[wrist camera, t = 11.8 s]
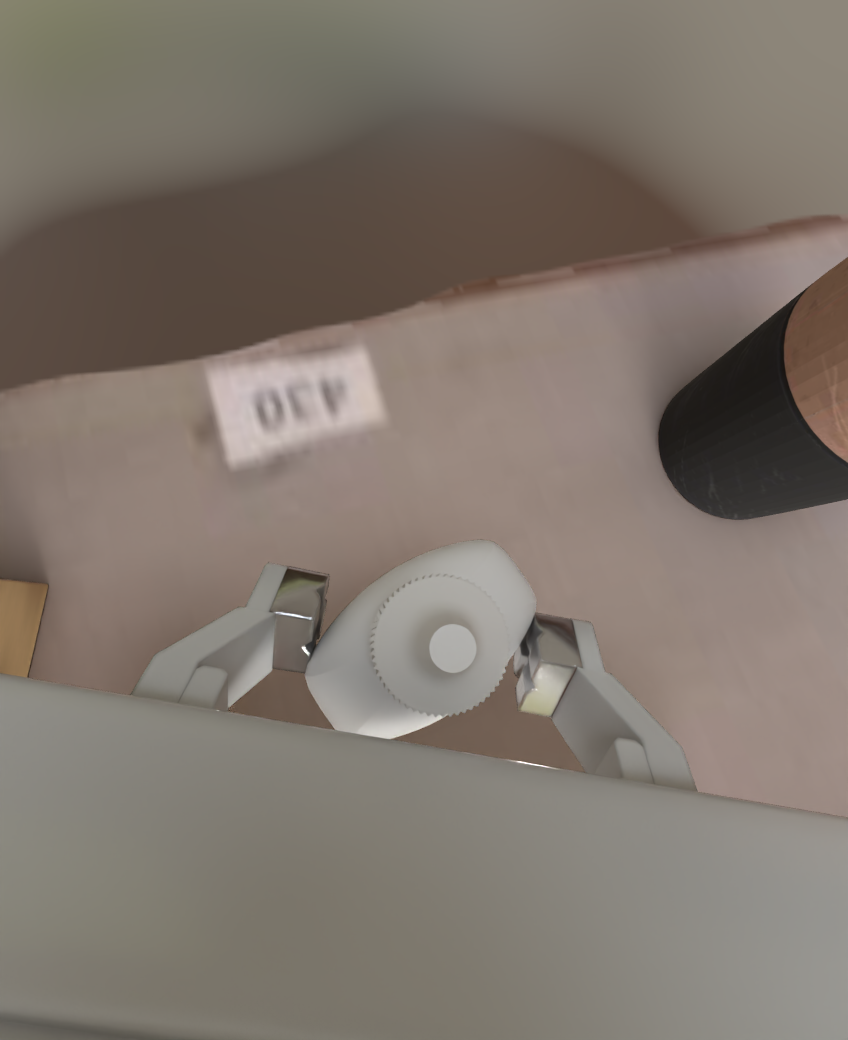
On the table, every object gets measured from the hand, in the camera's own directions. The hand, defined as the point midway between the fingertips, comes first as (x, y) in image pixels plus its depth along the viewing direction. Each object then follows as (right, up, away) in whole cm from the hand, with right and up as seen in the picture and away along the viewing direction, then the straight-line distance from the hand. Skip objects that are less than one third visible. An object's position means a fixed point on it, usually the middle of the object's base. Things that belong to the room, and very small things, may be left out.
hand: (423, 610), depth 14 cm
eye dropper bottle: (-1, -2, +6) cm, 7 cm away
